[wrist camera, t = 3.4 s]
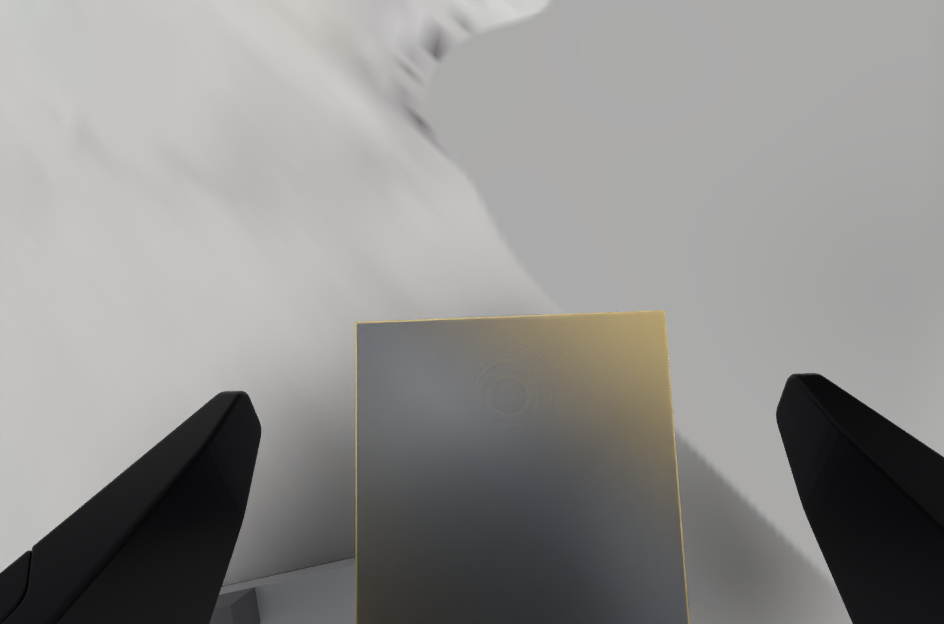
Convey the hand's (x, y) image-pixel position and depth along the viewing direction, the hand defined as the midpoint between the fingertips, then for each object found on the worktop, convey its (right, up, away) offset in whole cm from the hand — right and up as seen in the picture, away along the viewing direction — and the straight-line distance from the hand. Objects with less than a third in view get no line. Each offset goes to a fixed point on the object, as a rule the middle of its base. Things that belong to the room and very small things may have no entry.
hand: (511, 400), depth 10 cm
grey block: (+1, -2, +8) cm, 9 cm away
